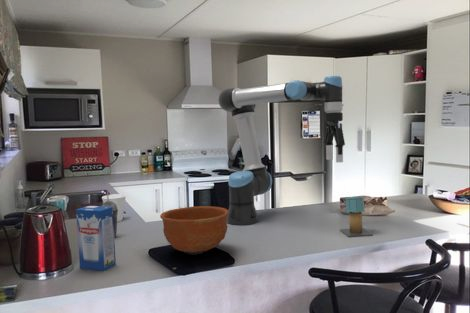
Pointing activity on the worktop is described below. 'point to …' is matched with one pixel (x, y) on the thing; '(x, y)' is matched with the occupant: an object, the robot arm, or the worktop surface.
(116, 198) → the cup
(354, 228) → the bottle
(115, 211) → the grey bottle
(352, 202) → the cap
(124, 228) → the worktop surface
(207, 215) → the bowl
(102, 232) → the milk carton
